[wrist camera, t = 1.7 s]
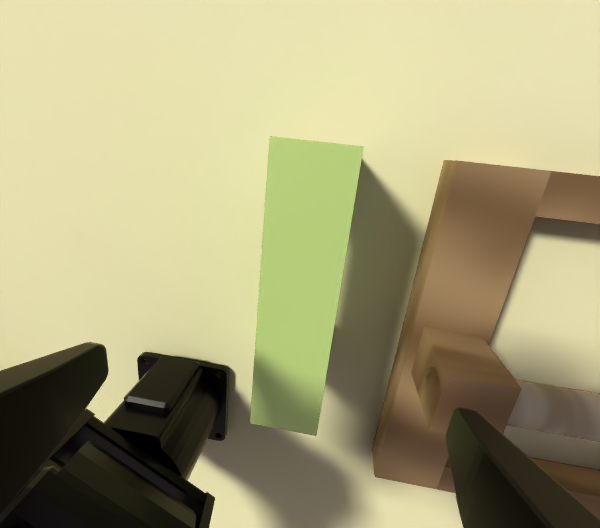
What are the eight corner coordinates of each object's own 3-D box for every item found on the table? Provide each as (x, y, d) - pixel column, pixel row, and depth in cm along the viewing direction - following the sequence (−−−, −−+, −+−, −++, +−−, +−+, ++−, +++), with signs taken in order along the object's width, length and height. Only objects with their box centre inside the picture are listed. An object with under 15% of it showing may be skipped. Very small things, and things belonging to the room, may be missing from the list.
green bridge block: (324, 345, 20) (316, 436, 14) (279, 338, 21) (250, 423, 14) (355, 150, 16) (363, 146, 10) (298, 143, 17) (269, 136, 10)
